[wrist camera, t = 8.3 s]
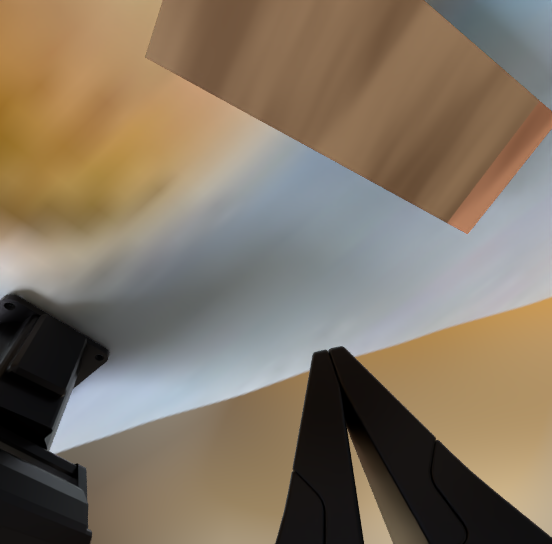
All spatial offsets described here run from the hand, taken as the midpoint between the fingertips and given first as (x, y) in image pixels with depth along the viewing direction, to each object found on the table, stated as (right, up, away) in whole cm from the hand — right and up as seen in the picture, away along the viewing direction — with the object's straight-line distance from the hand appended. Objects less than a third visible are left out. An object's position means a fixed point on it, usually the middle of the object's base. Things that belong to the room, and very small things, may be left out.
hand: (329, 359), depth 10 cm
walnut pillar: (+9, +8, +9) cm, 15 cm away
